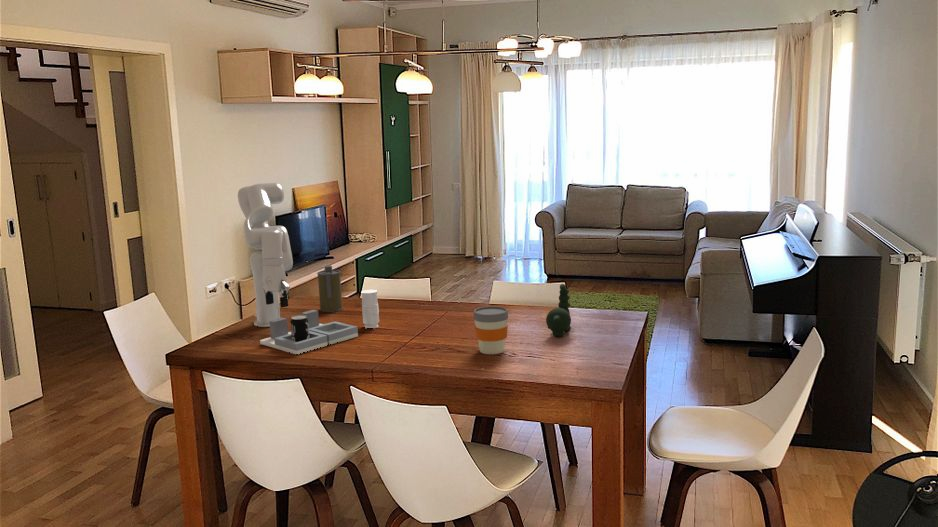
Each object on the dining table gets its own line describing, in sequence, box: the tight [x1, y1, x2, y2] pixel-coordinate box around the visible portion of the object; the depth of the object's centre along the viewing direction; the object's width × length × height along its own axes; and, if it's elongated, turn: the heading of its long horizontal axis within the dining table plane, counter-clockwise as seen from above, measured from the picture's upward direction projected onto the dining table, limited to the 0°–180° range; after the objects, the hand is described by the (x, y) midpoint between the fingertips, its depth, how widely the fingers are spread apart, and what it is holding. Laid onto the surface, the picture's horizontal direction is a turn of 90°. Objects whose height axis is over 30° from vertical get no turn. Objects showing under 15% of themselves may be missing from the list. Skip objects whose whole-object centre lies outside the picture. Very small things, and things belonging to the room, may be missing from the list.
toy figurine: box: [545, 283, 572, 339], centre depth 296 cm, size 9×19×25 cm
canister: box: [316, 264, 344, 313], centre depth 347 cm, size 11×10×20 cm
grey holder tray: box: [259, 317, 328, 355], centre depth 294 cm, size 24×14×8 cm, turn 48°
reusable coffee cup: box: [473, 305, 509, 355], centre depth 278 cm, size 13×12×15 cm
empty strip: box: [300, 309, 359, 346], centre depth 305 cm, size 24×14×8 cm, turn 48°
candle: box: [360, 289, 380, 329], centre depth 316 cm, size 7×7×15 cm
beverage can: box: [289, 314, 310, 342], centre depth 291 cm, size 7×7×12 cm
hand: (277, 305), depth 298 cm, fingers open, 9 cm apart
